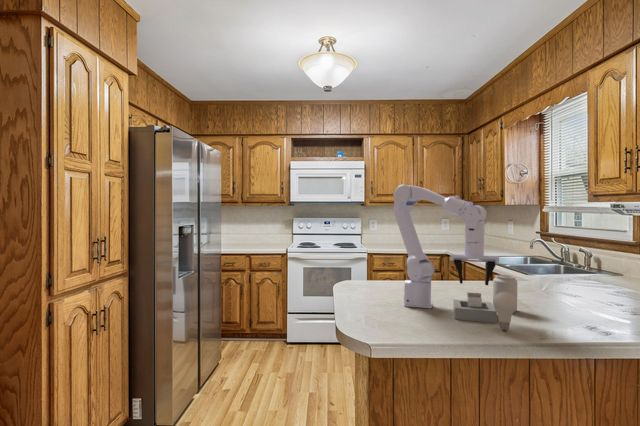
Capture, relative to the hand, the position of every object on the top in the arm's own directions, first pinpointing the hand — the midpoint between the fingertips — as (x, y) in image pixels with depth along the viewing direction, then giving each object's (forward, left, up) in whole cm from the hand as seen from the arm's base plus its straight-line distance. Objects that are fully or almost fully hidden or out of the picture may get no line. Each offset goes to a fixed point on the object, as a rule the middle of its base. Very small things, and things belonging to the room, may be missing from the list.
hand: (473, 283), depth 119 cm
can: (+11, +11, -11) cm, 19 cm away
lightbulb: (+7, -13, -11) cm, 18 cm away
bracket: (0, 0, -10) cm, 10 cm away
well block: (0, 0, -10) cm, 10 cm away
